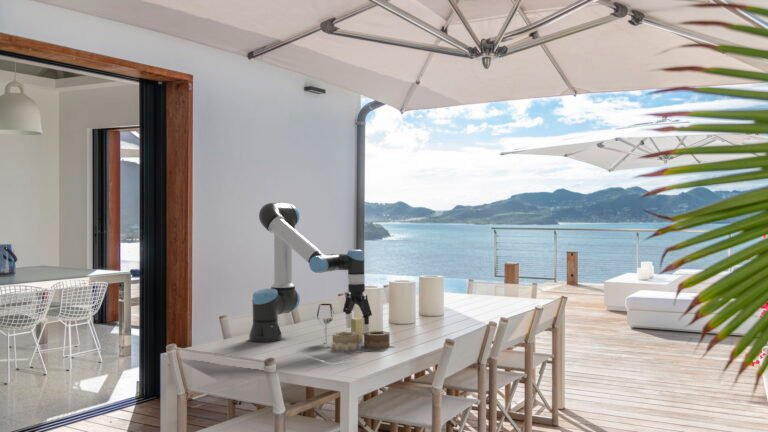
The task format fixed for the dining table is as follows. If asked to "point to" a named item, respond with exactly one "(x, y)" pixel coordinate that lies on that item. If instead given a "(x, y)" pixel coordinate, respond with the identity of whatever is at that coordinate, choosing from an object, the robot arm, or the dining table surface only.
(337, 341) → the beech bead
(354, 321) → the yellow peg
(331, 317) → the wineglass
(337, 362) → the dining table surface
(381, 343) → the walnut bead
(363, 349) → the mat
